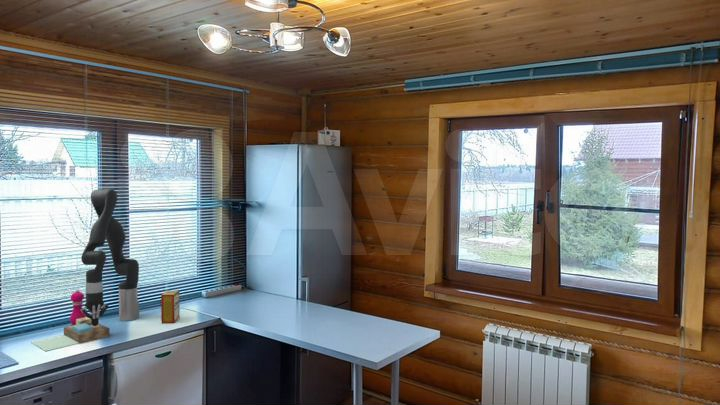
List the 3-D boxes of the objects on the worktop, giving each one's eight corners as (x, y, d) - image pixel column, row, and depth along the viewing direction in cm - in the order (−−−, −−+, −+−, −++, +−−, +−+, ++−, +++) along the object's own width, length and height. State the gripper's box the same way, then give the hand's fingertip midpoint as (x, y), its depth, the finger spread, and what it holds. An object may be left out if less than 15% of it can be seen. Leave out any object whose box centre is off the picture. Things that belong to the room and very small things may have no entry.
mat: (63, 335, 242) (63, 334, 242) (79, 343, 230) (79, 342, 230) (31, 342, 231) (31, 342, 231) (45, 351, 219) (45, 350, 219)
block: (86, 322, 249) (86, 317, 249) (90, 324, 246) (90, 318, 246) (76, 325, 245) (75, 319, 245) (80, 327, 242) (80, 321, 242)
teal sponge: (85, 327, 242) (85, 323, 242) (93, 330, 236) (93, 326, 236) (72, 330, 237) (72, 326, 237) (79, 333, 232) (79, 329, 232)
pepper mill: (71, 325, 257) (70, 288, 256) (87, 324, 260) (86, 287, 259) (68, 329, 250) (67, 291, 249) (84, 328, 253) (83, 290, 252)
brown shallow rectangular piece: (93, 328, 252) (93, 321, 252) (109, 336, 241) (109, 328, 241) (63, 335, 242) (63, 327, 241) (79, 343, 230) (78, 335, 230)
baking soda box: (173, 323, 263) (173, 294, 262) (161, 323, 263) (161, 294, 262) (179, 318, 272) (179, 290, 272) (167, 318, 272) (167, 290, 271)
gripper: (104, 287, 248) (105, 321, 249) (76, 292, 237) (77, 327, 238) (111, 289, 243) (112, 324, 244) (83, 294, 233) (83, 330, 234)
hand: (94, 325), depth 241 cm, fingers closed
